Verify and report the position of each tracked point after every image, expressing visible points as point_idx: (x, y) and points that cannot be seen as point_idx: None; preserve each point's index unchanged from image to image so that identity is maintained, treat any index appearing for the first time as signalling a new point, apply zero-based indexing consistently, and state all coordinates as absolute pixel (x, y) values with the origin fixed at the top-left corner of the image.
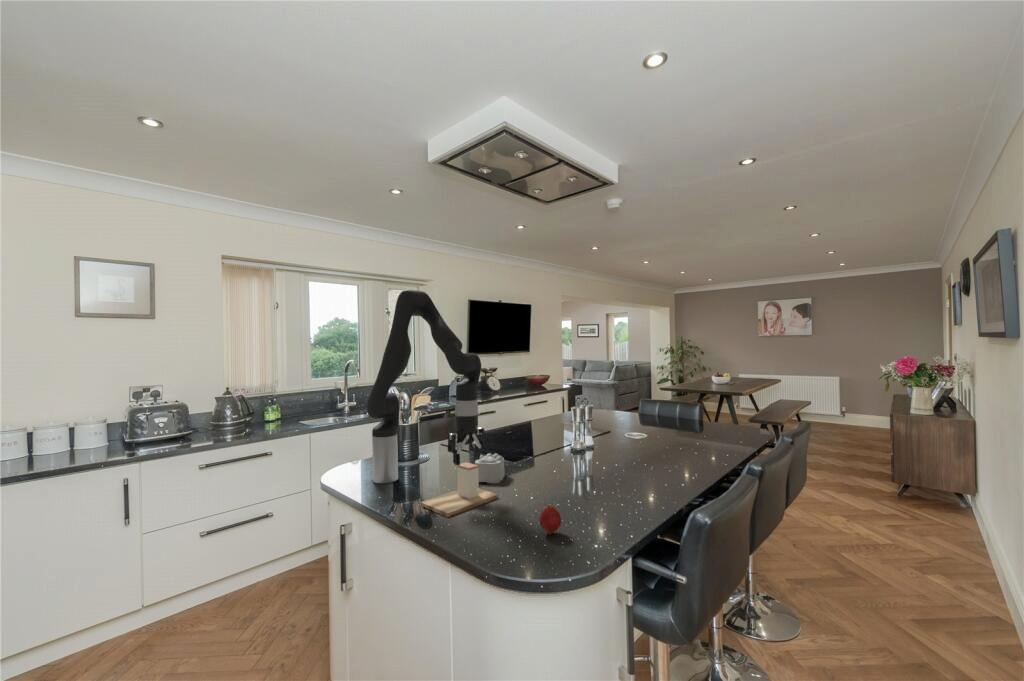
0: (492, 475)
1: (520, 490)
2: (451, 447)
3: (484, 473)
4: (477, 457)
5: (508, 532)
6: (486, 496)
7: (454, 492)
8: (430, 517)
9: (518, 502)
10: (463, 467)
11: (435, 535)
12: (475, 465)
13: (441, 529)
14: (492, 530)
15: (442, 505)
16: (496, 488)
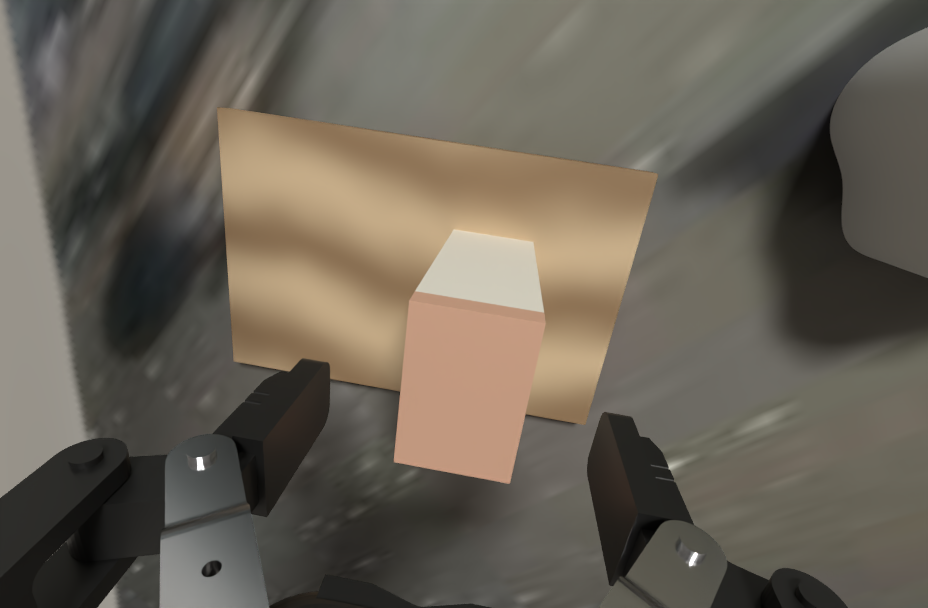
0: (889, 248)
1: (755, 452)
2: (88, 516)
3: (898, 177)
4: (590, 480)
5: (310, 591)
6: None
7: (479, 175)
8: (188, 283)
9: (577, 513)
10: (403, 388)
11: (115, 418)
12: (495, 465)
13: (158, 404)
14: (286, 548)
15: (277, 271)
16: (738, 319)
